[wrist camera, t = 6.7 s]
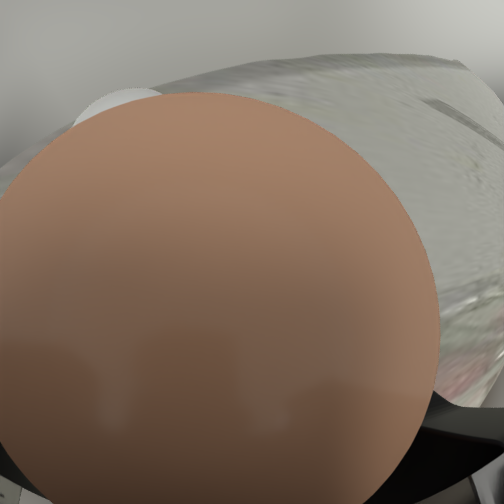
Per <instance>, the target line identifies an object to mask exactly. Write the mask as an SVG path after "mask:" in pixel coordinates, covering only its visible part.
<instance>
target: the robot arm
mask: <svg viewBox="0 0 504 504" xmlns="http://www.w3.org/2000/svg"><path fill="white" fill-rule="evenodd" d="M22 488H24V489H26V490H28V491H31V492H32V493H35V494H37V495H39V496H41V497H43V498H45V499H47V498H46V497H45V496H44V495H43V494H42V493H41V492H40V491H39V490H38V489H37V488H36V487H35V486H34V485H33V484H32V483H31V482H30V481H29V480H28V479H27V478H26V476H25V475H24V474H23V473H22V472H21V470H20V469H19V468H18V467H17V465H16V464H15V463H14V461H13V460H12V459H11V457H10V456H9V455H8V453H7V452H6V450H5V449H4V447H3V445H2V444H1V442H0V504H19V501H20V496H21V491H22ZM48 500H49V499H48ZM363 504H504V408H473V407H461V406H457V405H454V404H452V403H450V402H449V401H447V400H446V399H444V398H443V397H442V396H440V395H439V394H438V393H436V392H435V391H434V390H433V393H432V396H431V399H430V402H429V405H428V408H427V411H426V414H425V416H424V419H423V422H422V424H421V426H420V428H419V430H418V432H417V434H416V436H415V438H414V440H413V442H412V444H411V446H410V448H409V449H408V451H407V452H406V454H405V455H404V457H403V458H402V460H401V461H400V463H399V464H398V466H397V467H396V468H395V470H394V471H393V473H392V474H391V475H390V476H389V477H388V478H387V480H386V481H385V482H384V483H383V484H382V485H381V486H380V487H379V489H378V490H377V491H376V492H375V493H374V494H373V495H372V496H371V497H370V498H369V499H367V500H366V501H365V502H364V503H363Z"/></svg>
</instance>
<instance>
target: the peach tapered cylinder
mask: <svg viewBox="0 0 504 504" xmlns="http://www.w3.org/2000/svg"><path fill="white" fill-rule="evenodd" d="M439 350H440V315H439V304H438V298H437V292H436V287H435V282H434V277H433V273H432V270H431V267H430V264H429V260H428V257H427V254H426V251H425V248H424V246H423V244H422V242H421V239H420V237H419V235H418V233H417V231H416V228H415V226H414V224H413V222H412V220H411V219H410V217H409V215H408V214H407V212H406V210H405V209H404V207H403V206H402V204H401V202H400V201H399V199H398V198H397V196H396V195H395V194H394V192H393V191H392V190H391V189H390V187H389V186H388V185H387V184H386V182H385V181H384V180H383V179H382V177H381V176H380V175H379V174H378V173H377V172H376V171H375V170H374V169H373V168H372V167H371V166H370V165H369V164H368V163H367V162H366V161H365V160H364V159H363V158H362V157H361V156H360V155H359V154H358V153H357V152H356V151H354V150H353V149H352V148H351V147H349V146H348V145H347V144H345V143H344V142H343V141H342V140H340V139H339V138H338V137H336V136H335V135H333V134H332V133H330V132H329V131H327V130H325V129H324V128H322V127H320V126H319V125H317V124H315V123H313V122H312V121H310V120H308V119H306V118H304V117H302V116H299V115H297V114H295V113H293V112H290V111H288V110H286V109H283V108H281V107H278V106H275V105H272V104H268V103H265V102H262V101H258V100H255V99H251V98H246V97H240V96H235V95H229V94H221V93H204V92H187V93H173V94H162V95H157V96H152V97H147V98H142V99H138V100H133V101H130V102H127V103H124V104H121V105H118V106H116V107H113V108H110V109H107V110H105V111H102V112H100V113H98V114H96V115H94V116H92V117H90V118H88V119H86V120H84V121H82V122H80V123H79V124H77V125H75V126H74V127H72V128H71V129H69V130H68V131H66V132H65V133H63V134H62V135H60V136H59V137H58V138H56V139H55V140H53V141H52V142H51V143H50V144H49V145H47V146H46V147H45V148H44V149H43V150H42V151H41V152H39V153H38V154H37V155H36V156H35V157H34V158H33V159H32V160H31V161H30V162H29V163H28V164H27V165H26V166H25V167H24V169H23V170H22V171H21V172H20V173H19V174H18V176H17V177H16V178H15V179H14V180H13V182H12V183H11V184H10V186H9V187H8V189H7V190H6V192H5V193H4V195H3V196H2V198H1V199H0V442H1V444H2V445H3V447H4V449H5V450H6V452H7V453H8V455H9V456H10V457H11V459H12V460H13V461H14V463H15V464H16V465H17V467H18V468H19V469H20V470H21V472H22V473H23V474H24V475H25V476H26V478H27V479H28V480H29V481H30V482H31V483H32V484H33V485H34V486H35V487H36V488H37V489H38V490H39V491H40V492H41V493H42V494H43V495H44V496H45V497H46V498H47V499H49V500H50V501H51V502H52V503H53V504H363V503H364V502H365V501H366V500H367V499H369V498H370V497H371V496H372V495H373V494H374V493H375V492H376V491H377V490H378V489H379V487H380V486H381V485H382V484H383V483H384V482H385V481H386V480H387V478H388V477H389V476H390V475H391V474H392V473H393V471H394V470H395V468H396V467H397V466H398V464H399V463H400V461H401V460H402V458H403V457H404V455H405V454H406V452H407V451H408V449H409V448H410V446H411V444H412V442H413V440H414V438H415V436H416V434H417V432H418V430H419V428H420V426H421V424H422V422H423V419H424V416H425V414H426V411H427V408H428V405H429V402H430V399H431V396H432V393H433V388H434V384H435V379H436V374H437V369H438V362H439Z"/></svg>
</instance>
